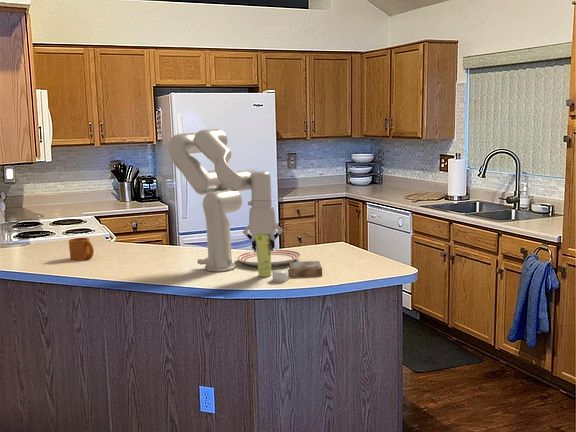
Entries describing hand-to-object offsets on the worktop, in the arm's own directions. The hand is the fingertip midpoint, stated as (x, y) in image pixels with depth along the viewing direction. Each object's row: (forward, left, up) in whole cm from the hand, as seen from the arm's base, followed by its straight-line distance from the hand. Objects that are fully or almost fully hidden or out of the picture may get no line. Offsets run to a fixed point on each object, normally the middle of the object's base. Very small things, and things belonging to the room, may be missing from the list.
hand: (263, 250), depth 239 cm
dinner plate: (+2, +23, -11) cm, 25 cm away
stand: (+16, +2, -10) cm, 19 cm away
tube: (0, 0, -10) cm, 10 cm away
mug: (-82, +44, -10) cm, 94 cm away
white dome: (+6, -8, -10) cm, 14 cm away
